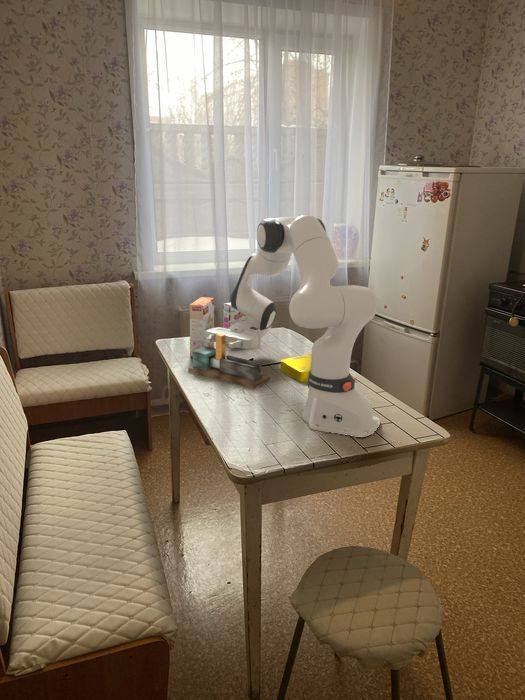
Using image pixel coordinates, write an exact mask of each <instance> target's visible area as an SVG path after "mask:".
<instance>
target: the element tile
mask: <svg viewBox="0 0 525 700" xmlns="http://www.w3.org/2000/svg"><path fill="white" fill-rule="evenodd" d="M310 369H311V353H308V354H302V355H297V356H293V357H288V358H282V359H281V360H280V369H279V370H280V372H282V373H284V374H285V375H287V376H289V377H290V378H292V379H294V380H296V381H298V382H299V383H308V376H309V370H310Z"/></svg>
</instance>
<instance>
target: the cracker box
mask: <svg viewBox="0 0 525 700" xmlns="http://www.w3.org/2000/svg"><path fill="white" fill-rule="evenodd" d="M212 328H215V298H214V297H205V296H201V297H199V298H197V299H196V300H194V301H193V302H192V303H190V304H189V357H191V358H193V351H194V350H197V349H199V348H202V347H204V346H206V347H210V348H214V346H215V345H214V344H215V342H213V343H207V342H206V338H205V331H206V330H208V329H212Z"/></svg>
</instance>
